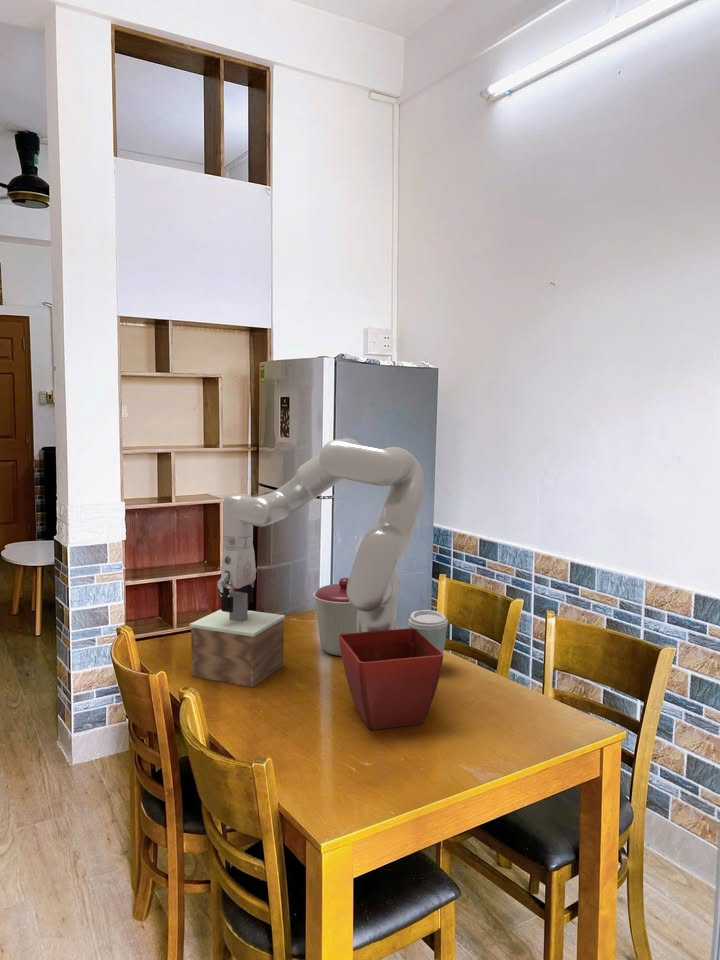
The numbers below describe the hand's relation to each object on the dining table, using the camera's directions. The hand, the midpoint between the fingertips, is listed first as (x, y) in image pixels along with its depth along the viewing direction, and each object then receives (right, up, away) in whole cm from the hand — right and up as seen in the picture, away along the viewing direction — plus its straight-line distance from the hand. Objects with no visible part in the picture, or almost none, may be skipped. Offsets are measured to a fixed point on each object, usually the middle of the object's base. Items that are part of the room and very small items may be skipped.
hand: (237, 606), depth 187 cm
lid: (0, -4, 0) cm, 4 cm away
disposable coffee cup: (+50, -18, +5) cm, 53 cm away
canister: (+27, -16, +19) cm, 37 cm away
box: (0, -17, +2) cm, 17 cm away
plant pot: (+38, -21, -24) cm, 50 cm away
